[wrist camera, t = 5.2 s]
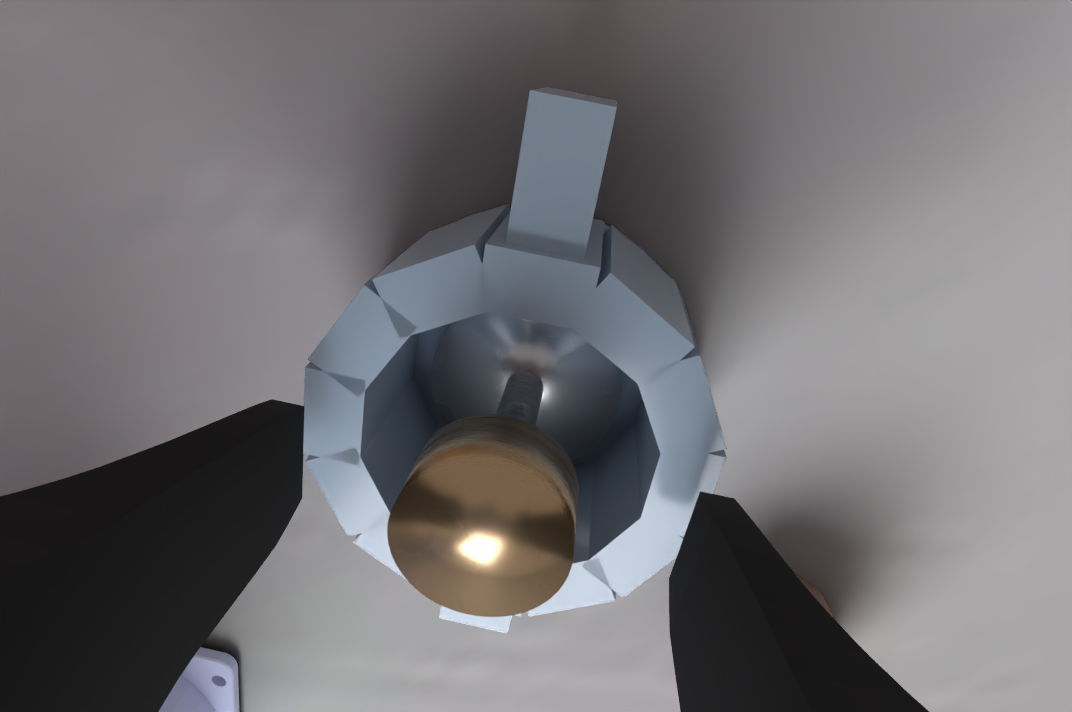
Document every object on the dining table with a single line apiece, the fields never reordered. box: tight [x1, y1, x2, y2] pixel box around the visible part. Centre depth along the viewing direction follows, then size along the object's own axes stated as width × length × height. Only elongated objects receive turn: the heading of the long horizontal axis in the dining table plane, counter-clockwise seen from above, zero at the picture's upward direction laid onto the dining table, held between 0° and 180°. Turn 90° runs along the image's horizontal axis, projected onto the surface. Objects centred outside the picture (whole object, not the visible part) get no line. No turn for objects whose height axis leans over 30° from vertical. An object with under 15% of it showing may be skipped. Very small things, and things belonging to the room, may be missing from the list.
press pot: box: [303, 87, 727, 633], centre depth 14 cm, size 11×8×4 cm
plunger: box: [387, 312, 622, 617], centre depth 13 cm, size 5×5×6 cm
